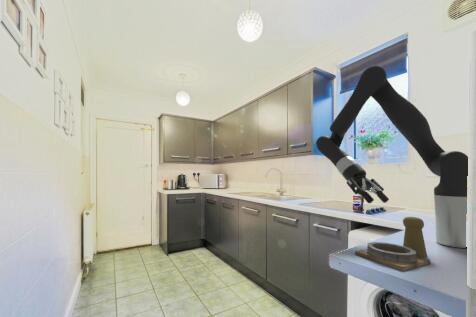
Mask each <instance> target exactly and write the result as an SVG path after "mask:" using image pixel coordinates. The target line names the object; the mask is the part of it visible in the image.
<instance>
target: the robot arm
mask: <svg viewBox="0 0 476 317" xmlns="http://www.w3.org/2000/svg"><path fill="white" fill-rule="evenodd" d="M387 77H388V76H387V71H386V70H385V68H384V67H382V66H381V65H380V66H379V65H372V66H369V67H367V68H365V69H364V70H363V72H362V73H361V74H360V77H359V80H358V82H357V84H356V85H355V88H354V90H353V92H352V93H351V95H350V97H349V99H348V100H347V102H346V103H345V104H344V106H343V107H342V109H341V110H340V112H339V113H338V114H337V116H336V117H335V119H334V120H333V121H332V123H331V125H330V126H329V131H330V132H331V135H330V136H328V135H321V136H319V137H318V138H317V139H316V142H315V145H316V148H317V150H318V151H319V153H321V155H323V156H324V157H325V158H327V159H328V160H329V161H330V162H331V163H332V164H333V166H335V168H336V169H337V171H338V172H339V174H340V175H341V176H342V177H343V178H344V179H345V180H346V185H348V187H349V188H350V189H351V190H352V192H353V193H354V194H355V195H359V196H361V197H362V198H363V200H364V201H366V203H367V204H372V203H373V202H374V200H375V199H374V197H372V195H371V194H370V193H373V194H374V195H376V197H378V199H380V201H381V202H382V203H384V204H386V203H387V202H388V201H389V198H388V196H387V195H386V194H385V193H384V190H385V189H384V187H383V186H382V185H380V183H379V182H378V181H376V180H375V179H374V178H371V179H369V178H367V177H366V176H367V172H366V170H365V169H364V168H363V167H362V166H361V164H359V163H358V162H357V161H356V160H355V159H354V158H353V157H351V156H350V154H348V152H346V151H345V150H344V149H342V148H340V147H341V145H342V143H343V141H344V138H345V136H346V133H347V132H348V131H349V129H350V128H351V127H352V126H353V124H354V122H355V120H356V119H357V117H358V115H359V114H360V112H361V110H362V108H363V107H364V105H365V104H366V103H367V101H368V100H369V99H370V98H373V100H374V101H375V102H376V103H377V104H378V106H380V107H381V109H382V111H383V113H384V114H385V115H386V117H387V118H388V119H389V121H390V123H392V125H393V126H394V127H395V128H396V130H397V131H398V132H399V133H400V134H402V136H403V137H404V138H405V139H406V140H407V142H408V143H409V144H410V146H412V148H414V150H415V151H416V152H417V153H418V155H419V156H420V158H421V159H422V161H423V162H424V164H425V165H426V167H427V168H428V170H429V171H430V172H431V173H432V174H434V175H435V176H437V177H439V183H438V184H437V186H435V187H434V188H433V199H434V200H433V202H434V220H435V223H434V224H435V237H436V238H435V240H436V241H435V242H436V243H437V244H440V245H443V246H448V247H454V248H460V249H467V248H466V214H467V176H468V158H469V156H468V155H467V154H466V153H464V152H462V151H457V150H456V151H455V150H452V151H445V150H444V149H443V148H442V147H441V146H440V145H439V144H438V142H436V139H434V137H433V134H432V130H431V127H430V123H429V122H428V119H427V118H426V116H425V115H423V113H422V112H421V111H420V110H419V109H418V108H417V107H416V105H414V104H413V103H412V102H410V101H409V100H408V99H407V98H405V97H404V96H402V95H401V94H399V93H398V92H397V90H396V89H395V88H394V87H393V85H392V84H391V83H390V81H389V80H388V78H387Z"/></svg>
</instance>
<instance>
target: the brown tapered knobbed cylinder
mask: <svg viewBox="0 0 476 317" xmlns="http://www.w3.org/2000/svg"><path fill="white" fill-rule="evenodd" d="M402 225H403V226H404V227H405V228H404V236H403V244H402V246H405V247H409V248H411V249H413V250H415V251H416V256H419V257H422V258H426V257H428V253H427V249H426V243H425V238H424V234H423V233H424V232H423V229H424V226H425V222H424V220H423V219H422V218H419V217H415V216H405V217H404V218H403V220H402Z"/></svg>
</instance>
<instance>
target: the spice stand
mask: <svg viewBox="0 0 476 317" xmlns="http://www.w3.org/2000/svg"><path fill="white" fill-rule="evenodd" d="M354 255H356V256H359V257H362V258H364V259H367V260H369V261H373V262H374V263H375V262H376V263H379V264H381V265H384V266H387V267H390V268H392V269H396V270H398V271H402V272H405V271H408V270H411V269H412V270H413V269H415V268H419V267H422V266H426V265H429V264H431V259H429V258H426V257H419V256H416V251H415V250H413V249H411V248H409V247H405V246H403V245H401V244H396V243H390V242H383V241H382V242H381V241H379V242H378V241H373V242H368V243H367V247H366V248H365V249H359V250H355V251H354ZM404 270H405V271H404Z"/></svg>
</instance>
